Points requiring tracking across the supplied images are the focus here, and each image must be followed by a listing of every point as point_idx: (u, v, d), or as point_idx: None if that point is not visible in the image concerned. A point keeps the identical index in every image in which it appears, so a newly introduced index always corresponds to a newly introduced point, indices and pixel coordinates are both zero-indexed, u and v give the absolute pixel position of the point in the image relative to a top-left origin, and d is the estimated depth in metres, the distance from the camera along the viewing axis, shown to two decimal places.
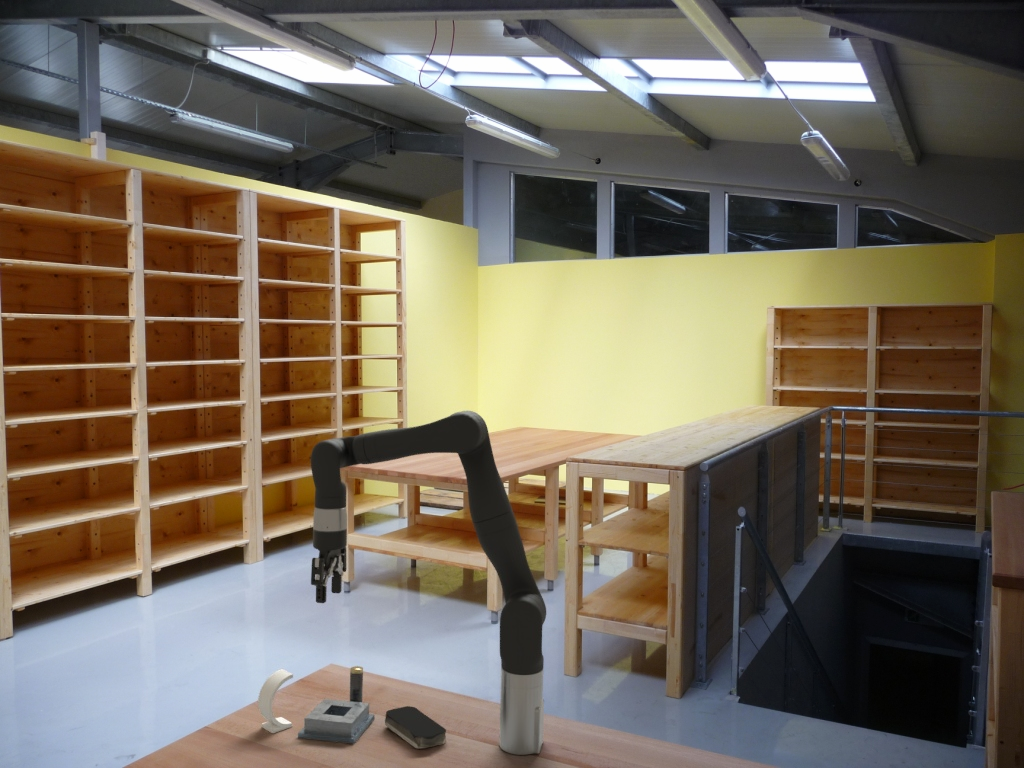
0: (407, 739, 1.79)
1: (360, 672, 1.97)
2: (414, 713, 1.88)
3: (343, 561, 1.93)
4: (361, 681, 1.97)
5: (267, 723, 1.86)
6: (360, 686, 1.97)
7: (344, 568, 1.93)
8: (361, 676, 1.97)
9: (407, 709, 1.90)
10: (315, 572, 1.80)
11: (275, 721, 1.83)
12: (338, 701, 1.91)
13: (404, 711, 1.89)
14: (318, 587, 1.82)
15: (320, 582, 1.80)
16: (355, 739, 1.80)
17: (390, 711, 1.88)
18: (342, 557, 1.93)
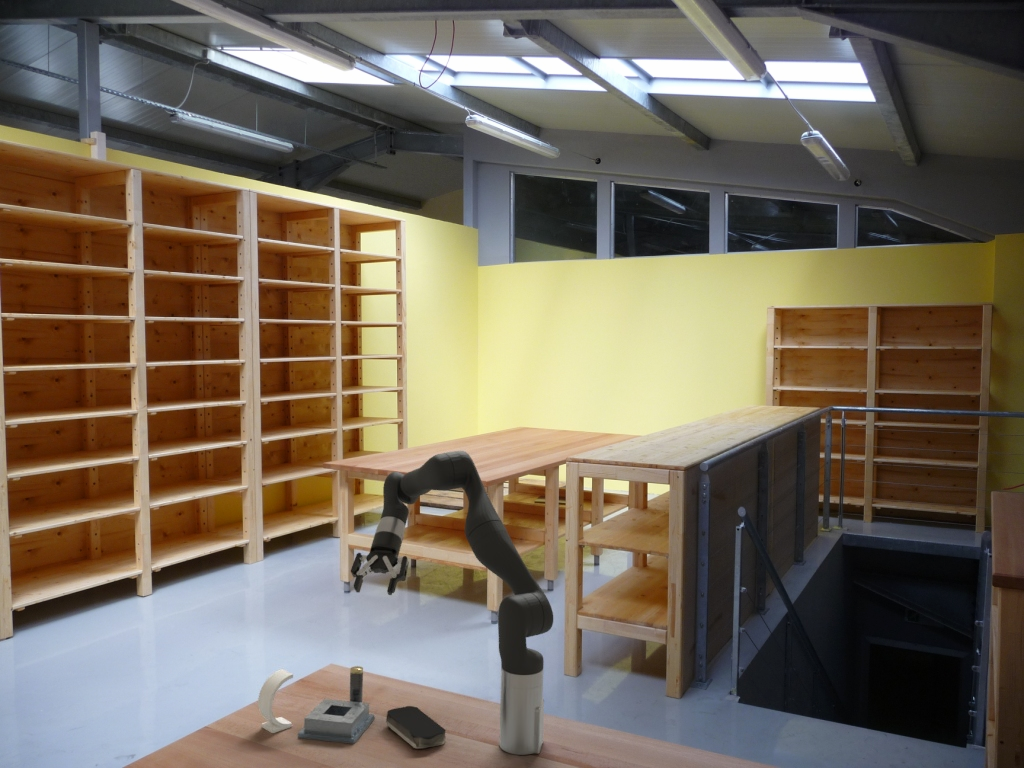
0: (406, 739, 1.79)
1: (360, 672, 1.97)
2: (415, 713, 1.89)
3: None
4: (361, 681, 1.97)
5: (267, 723, 1.86)
6: (360, 686, 1.97)
7: None
8: (361, 676, 1.97)
9: (409, 709, 1.91)
10: None
11: (275, 721, 1.83)
12: (338, 701, 1.91)
13: (405, 711, 1.89)
14: None
15: (351, 569, 2.12)
16: (355, 739, 1.80)
17: (391, 710, 1.89)
18: None
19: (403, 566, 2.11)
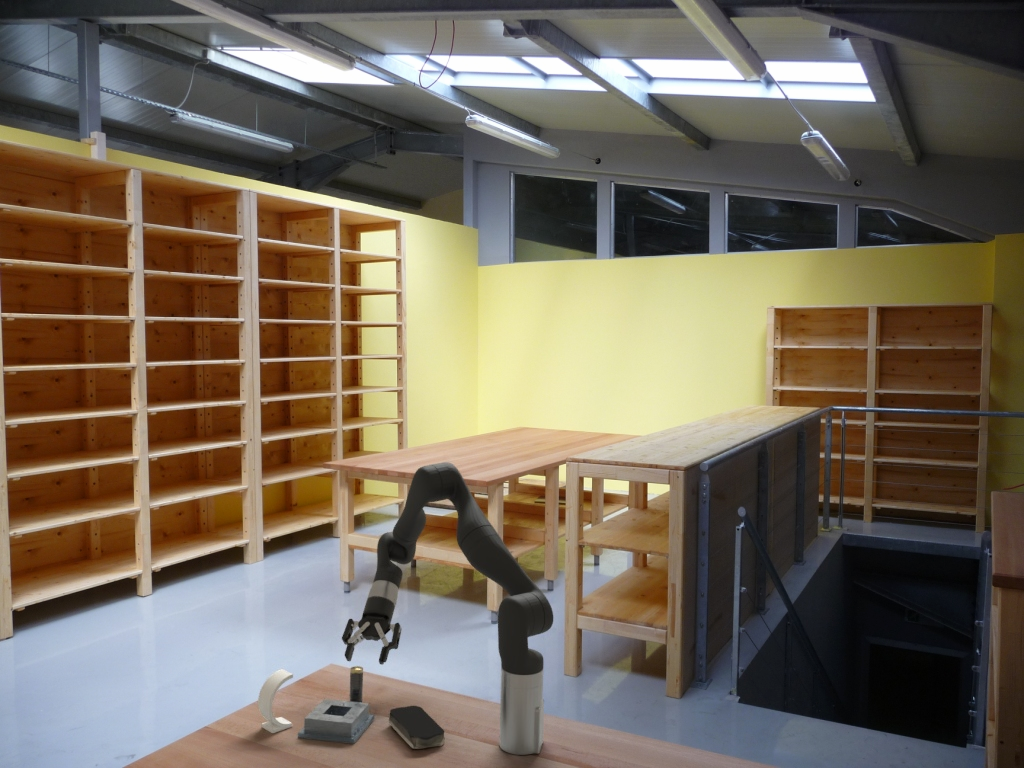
0: (405, 738, 1.79)
1: (360, 672, 1.97)
2: (417, 713, 1.89)
3: (393, 635, 2.05)
4: (361, 681, 1.97)
5: (267, 723, 1.86)
6: (360, 686, 1.97)
7: None
8: (361, 676, 1.97)
9: (412, 708, 1.91)
10: None
11: (275, 721, 1.83)
12: (338, 701, 1.91)
13: (408, 711, 1.89)
14: None
15: (342, 637, 2.07)
16: (355, 739, 1.80)
17: (394, 709, 1.89)
18: None
19: (395, 634, 2.05)
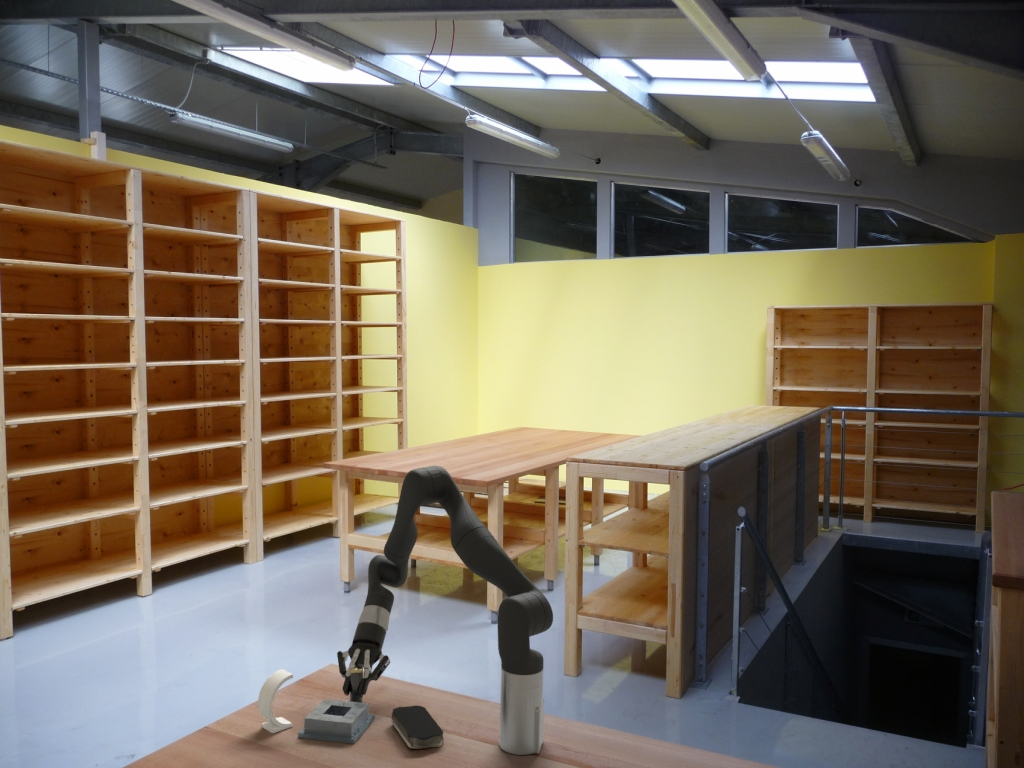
0: (404, 738, 1.79)
1: (360, 672, 1.97)
2: (420, 713, 1.89)
3: None
4: None
5: (267, 723, 1.86)
6: None
7: None
8: (361, 676, 1.97)
9: (415, 708, 1.91)
10: None
11: (275, 721, 1.83)
12: (338, 701, 1.91)
13: (411, 710, 1.90)
14: None
15: (339, 671, 1.99)
16: (355, 739, 1.80)
17: (397, 709, 1.90)
18: None
19: (379, 666, 1.99)
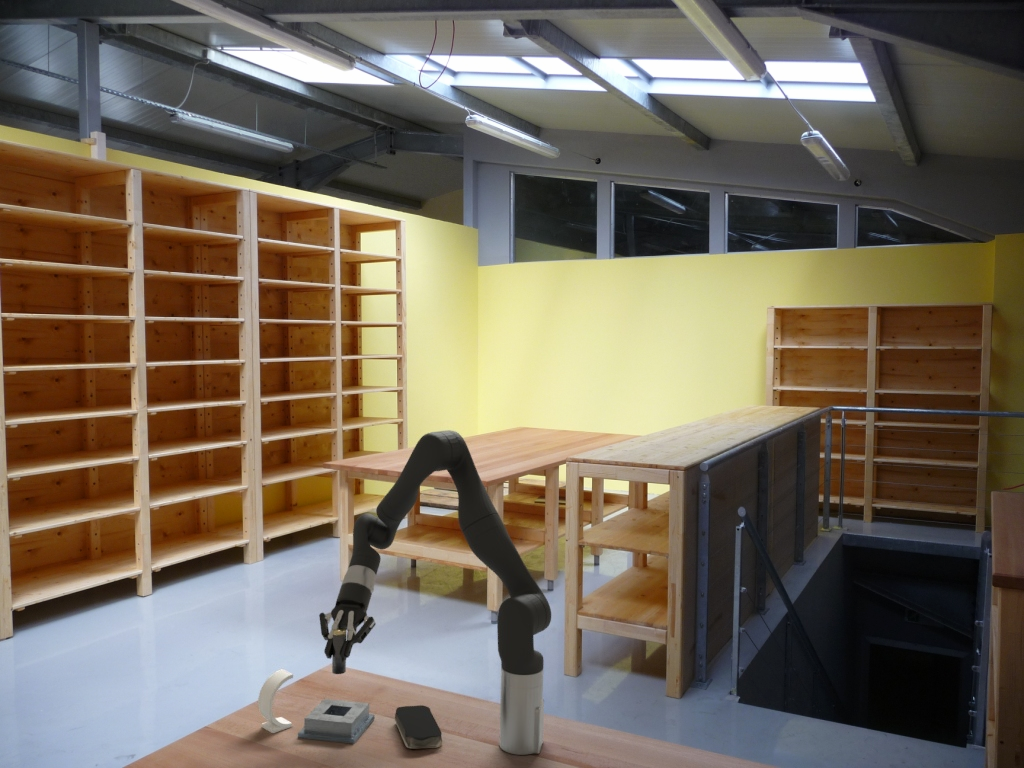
0: (403, 737, 1.80)
1: (343, 634, 1.85)
2: (423, 713, 1.89)
3: None
4: None
5: (267, 723, 1.86)
6: None
7: (356, 633, 1.86)
8: (344, 638, 1.86)
9: (420, 708, 1.91)
10: None
11: (275, 721, 1.83)
12: (338, 701, 1.91)
13: (414, 710, 1.90)
14: None
15: (321, 633, 1.88)
16: (355, 739, 1.80)
17: (401, 708, 1.90)
18: None
19: (364, 628, 1.87)
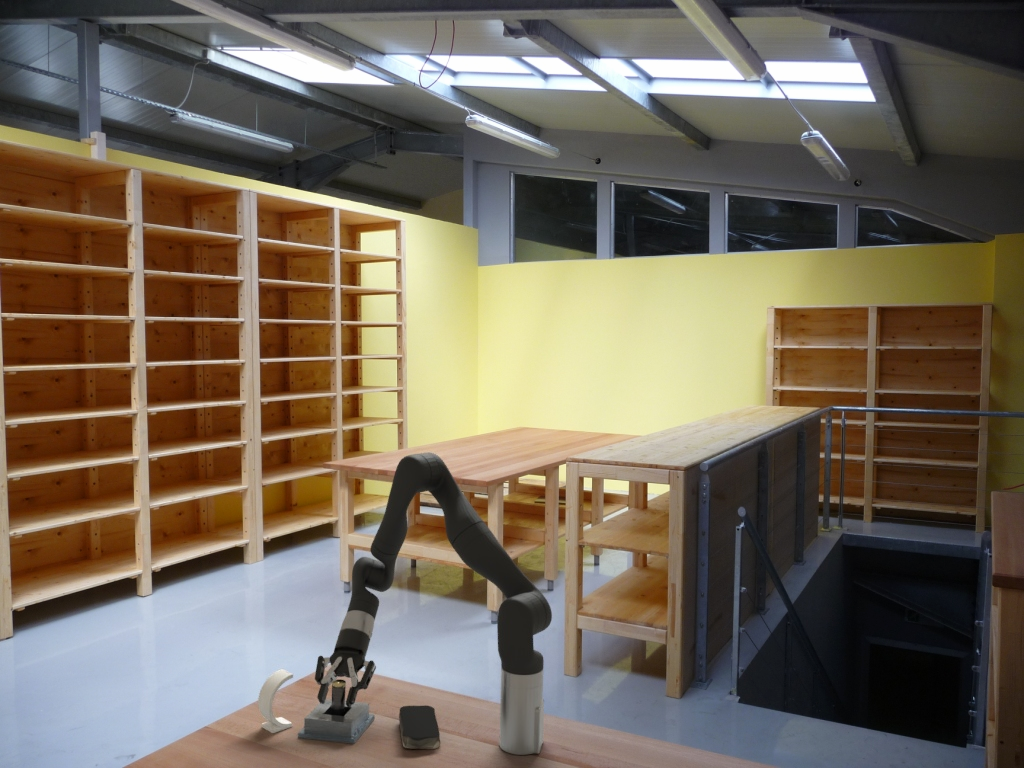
0: None
1: (342, 686, 1.85)
2: (426, 713, 1.89)
3: None
4: (343, 695, 1.86)
5: (267, 723, 1.86)
6: (342, 701, 1.85)
7: (361, 680, 1.86)
8: (343, 690, 1.86)
9: (424, 708, 1.91)
10: None
11: (275, 721, 1.83)
12: None
13: (418, 710, 1.90)
14: None
15: (315, 677, 1.88)
16: (355, 739, 1.80)
17: (406, 707, 1.91)
18: None
19: (367, 673, 1.88)
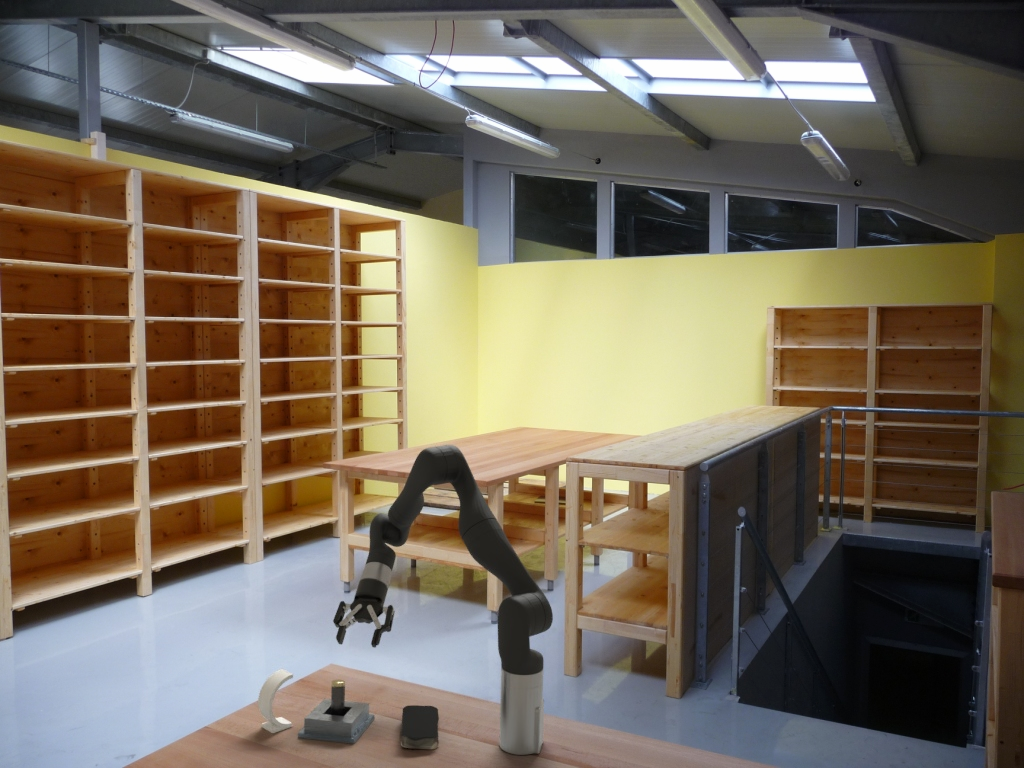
0: None
1: (342, 686, 1.85)
2: (429, 713, 1.88)
3: (386, 617, 2.00)
4: (343, 695, 1.86)
5: (267, 723, 1.86)
6: (342, 700, 1.85)
7: (384, 623, 1.99)
8: (343, 690, 1.86)
9: (428, 708, 1.91)
10: None
11: (275, 721, 1.83)
12: None
13: (421, 710, 1.90)
14: None
15: None
16: (355, 739, 1.80)
17: (410, 706, 1.91)
18: None
19: (388, 616, 2.00)
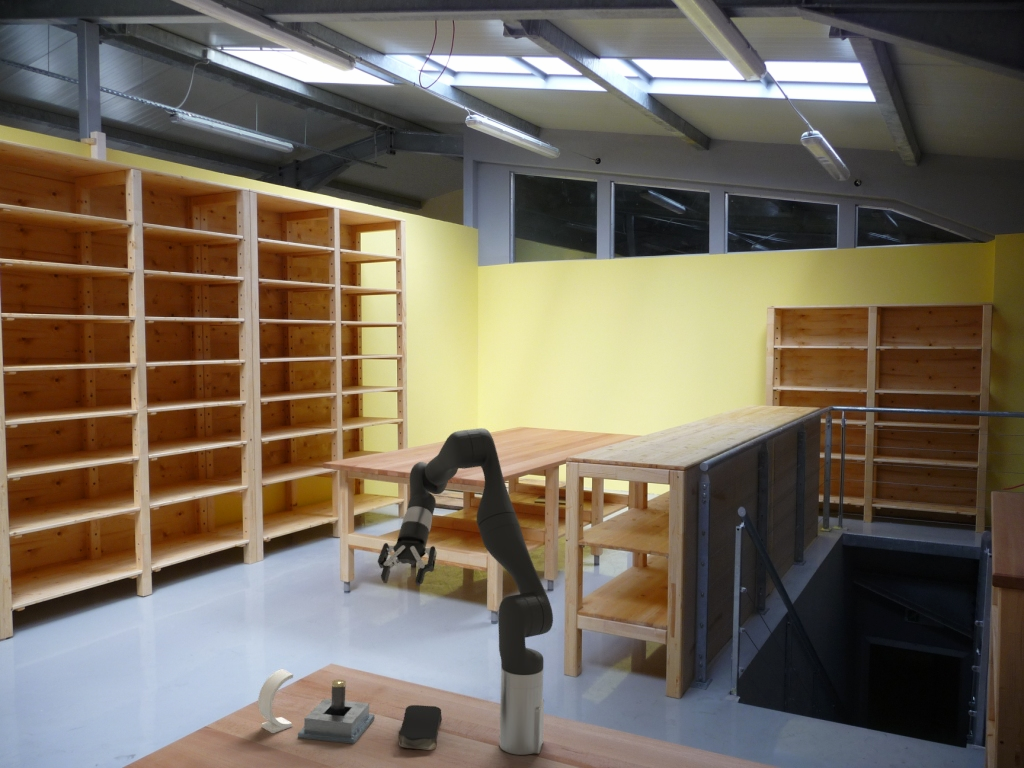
0: None
1: (342, 686, 1.85)
2: (431, 714, 1.88)
3: None
4: (343, 695, 1.86)
5: (267, 723, 1.86)
6: (342, 701, 1.85)
7: None
8: (343, 690, 1.86)
9: (431, 709, 1.91)
10: None
11: (275, 721, 1.83)
12: None
13: (424, 710, 1.90)
14: None
15: (378, 560, 2.08)
16: (355, 739, 1.80)
17: (413, 706, 1.91)
18: None
19: (431, 556, 2.07)
